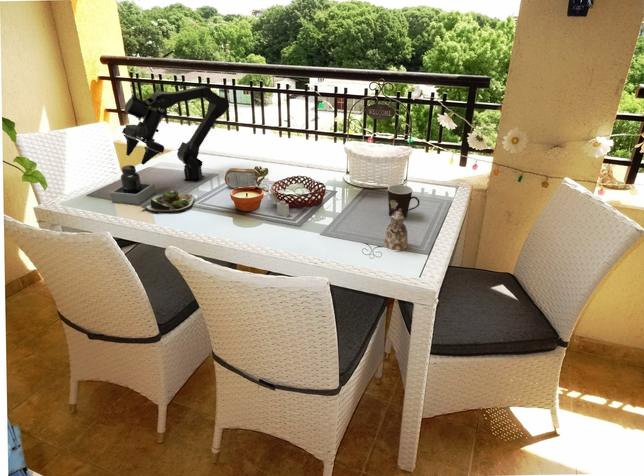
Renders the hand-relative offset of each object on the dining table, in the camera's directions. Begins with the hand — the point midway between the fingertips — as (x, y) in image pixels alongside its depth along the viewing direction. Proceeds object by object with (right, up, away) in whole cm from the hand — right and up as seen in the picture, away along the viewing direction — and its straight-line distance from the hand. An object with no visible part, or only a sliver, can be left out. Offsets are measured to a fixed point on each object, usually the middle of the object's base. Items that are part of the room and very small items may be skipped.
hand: (134, 159), depth 178 cm
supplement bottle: (0, -15, 0) cm, 15 cm away
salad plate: (+16, -19, -6) cm, 26 cm away
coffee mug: (+102, -23, -16) cm, 106 cm away
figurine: (+97, -34, -35) cm, 109 cm away
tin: (+41, -11, +9) cm, 44 cm away
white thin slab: (+58, -22, -14) cm, 64 cm away
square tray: (0, -15, 0) cm, 15 cm away
